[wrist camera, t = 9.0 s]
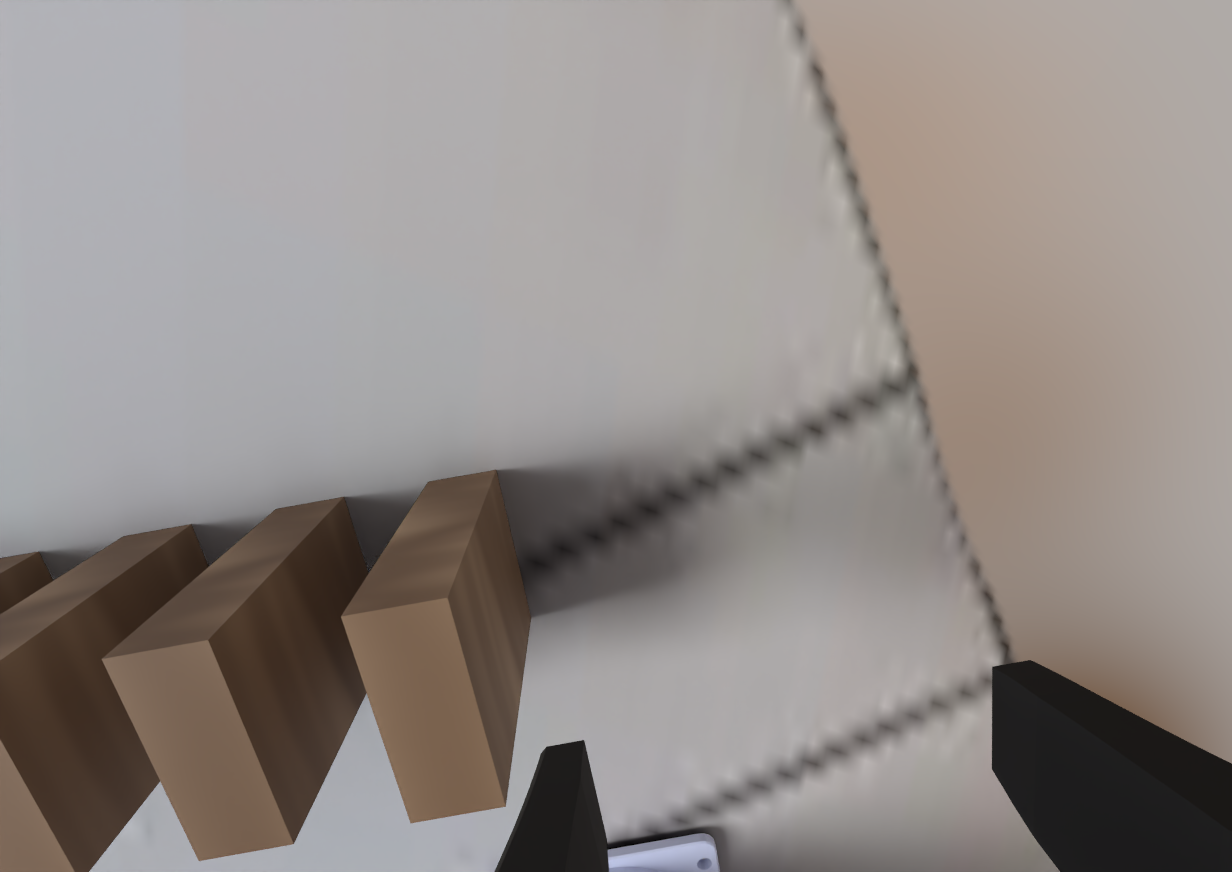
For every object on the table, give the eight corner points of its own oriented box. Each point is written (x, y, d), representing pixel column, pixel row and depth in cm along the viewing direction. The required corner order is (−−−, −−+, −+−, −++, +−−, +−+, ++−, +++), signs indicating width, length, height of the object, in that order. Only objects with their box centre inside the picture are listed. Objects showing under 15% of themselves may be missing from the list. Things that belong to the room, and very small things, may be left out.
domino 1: (191, 524, 18) (-32, 683, 12) (249, 668, 20) (80, 882, 13) (123, 536, 18) (-139, 702, 12) (186, 679, 20) (-15, 899, 13)
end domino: (496, 469, 18) (447, 597, 12) (531, 617, 20) (505, 806, 13) (428, 481, 18) (340, 616, 12) (468, 628, 20) (410, 823, 13)
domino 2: (343, 496, 18) (207, 640, 12) (390, 642, 20) (293, 844, 13) (275, 508, 18) (101, 658, 12) (327, 653, 20) (198, 860, 13)
